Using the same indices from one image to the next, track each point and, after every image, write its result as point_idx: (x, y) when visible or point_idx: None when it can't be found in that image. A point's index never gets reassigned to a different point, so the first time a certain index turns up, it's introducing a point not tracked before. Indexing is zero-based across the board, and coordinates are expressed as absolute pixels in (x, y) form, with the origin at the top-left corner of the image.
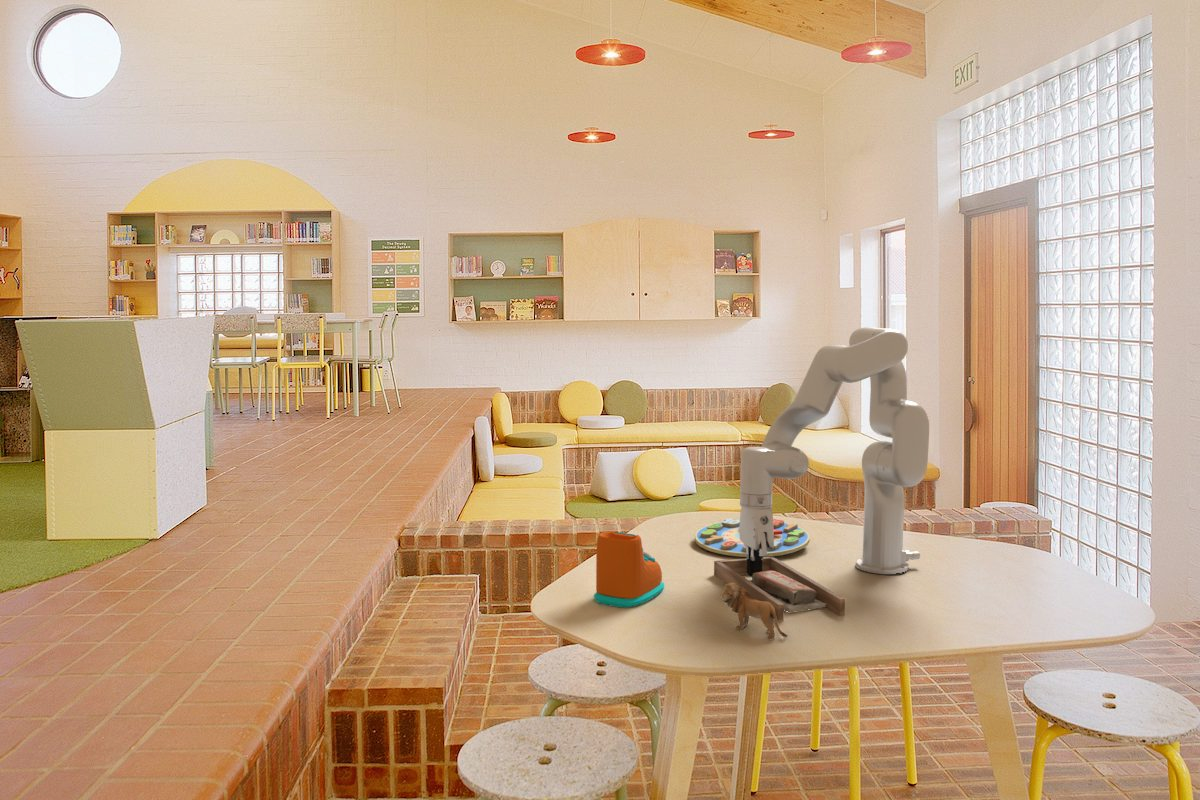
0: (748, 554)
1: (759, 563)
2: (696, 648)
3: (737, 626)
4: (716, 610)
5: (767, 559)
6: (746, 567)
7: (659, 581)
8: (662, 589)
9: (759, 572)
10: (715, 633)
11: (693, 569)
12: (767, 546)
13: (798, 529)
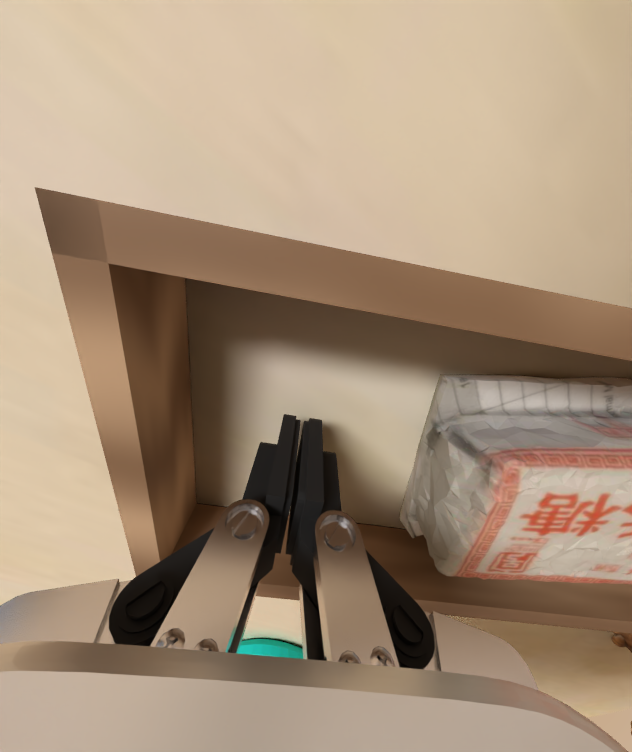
0: (254, 599)
1: (338, 506)
2: (605, 690)
3: (620, 646)
4: (489, 623)
5: (121, 295)
6: (172, 429)
7: None
8: (300, 655)
9: (470, 563)
10: (588, 662)
11: (83, 531)
12: (412, 695)
13: None
